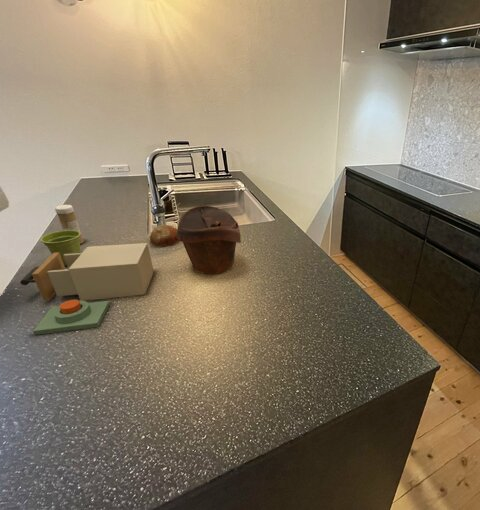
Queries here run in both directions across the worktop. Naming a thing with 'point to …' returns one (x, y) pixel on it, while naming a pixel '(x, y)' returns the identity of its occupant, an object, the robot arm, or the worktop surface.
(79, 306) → the button
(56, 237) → the plant pot
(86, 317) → the panel
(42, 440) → the worktop surface
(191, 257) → the chocolate muffin
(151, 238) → the bread roll
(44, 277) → the drawer
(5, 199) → the robot arm
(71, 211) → the sprinkles bottle
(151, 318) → the worktop surface
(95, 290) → the cabinet
